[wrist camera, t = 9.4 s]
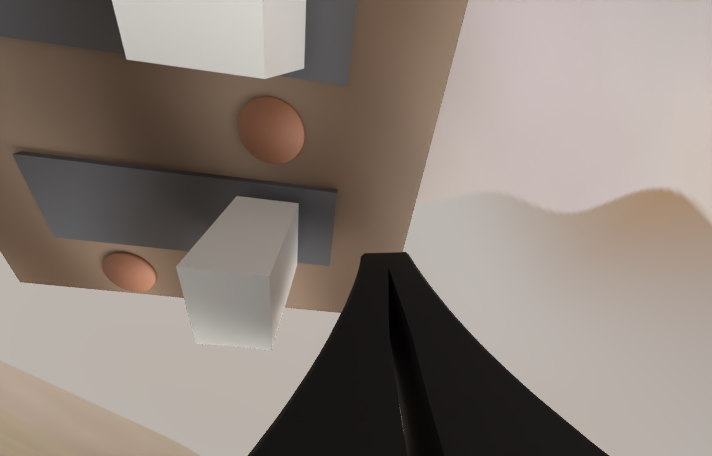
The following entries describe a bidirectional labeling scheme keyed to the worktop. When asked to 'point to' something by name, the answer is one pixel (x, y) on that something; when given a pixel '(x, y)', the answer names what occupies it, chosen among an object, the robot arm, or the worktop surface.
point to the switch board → (213, 144)
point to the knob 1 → (215, 34)
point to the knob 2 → (242, 274)
